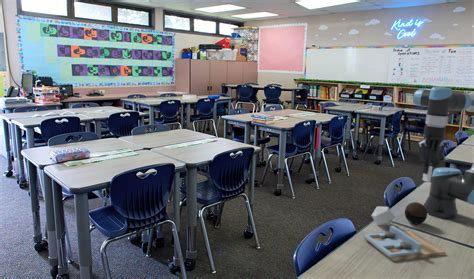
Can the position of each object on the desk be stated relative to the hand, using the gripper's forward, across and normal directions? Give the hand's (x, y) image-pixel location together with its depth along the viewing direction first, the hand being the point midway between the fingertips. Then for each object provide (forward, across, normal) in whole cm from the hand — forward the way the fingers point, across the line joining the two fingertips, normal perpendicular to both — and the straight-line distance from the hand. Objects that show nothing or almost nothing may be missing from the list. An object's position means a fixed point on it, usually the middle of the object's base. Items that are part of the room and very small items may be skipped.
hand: (426, 180), depth 151 cm
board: (+24, +14, +8) cm, 29 cm away
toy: (+25, -7, -10) cm, 27 cm away
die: (+25, +9, -12) cm, 29 cm away
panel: (+23, +20, +8) cm, 32 cm away
